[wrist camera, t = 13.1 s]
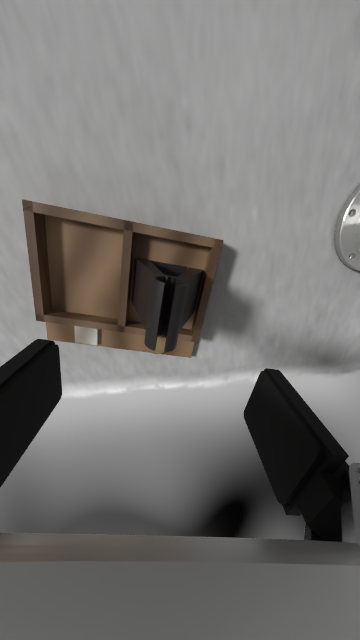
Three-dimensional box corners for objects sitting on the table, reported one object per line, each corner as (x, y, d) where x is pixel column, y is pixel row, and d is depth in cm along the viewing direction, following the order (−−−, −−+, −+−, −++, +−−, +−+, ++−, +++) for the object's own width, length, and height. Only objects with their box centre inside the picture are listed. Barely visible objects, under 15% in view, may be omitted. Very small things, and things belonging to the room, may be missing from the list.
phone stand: (203, 269, 26) (228, 294, 15) (194, 311, 28) (209, 358, 17) (136, 257, 25) (109, 273, 14) (131, 301, 27) (105, 344, 16)
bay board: (217, 239, 25) (223, 240, 23) (190, 354, 32) (192, 365, 29) (39, 203, 23) (22, 199, 20) (51, 336, 30) (39, 346, 27)
